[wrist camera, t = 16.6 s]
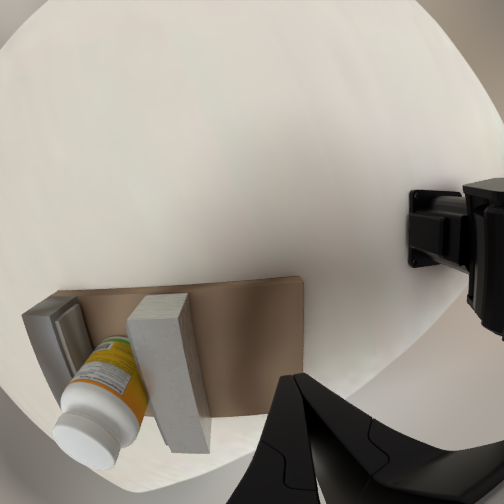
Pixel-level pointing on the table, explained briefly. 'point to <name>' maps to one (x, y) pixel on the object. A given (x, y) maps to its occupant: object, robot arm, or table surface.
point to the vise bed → (205, 330)
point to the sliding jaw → (171, 370)
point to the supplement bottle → (102, 406)
